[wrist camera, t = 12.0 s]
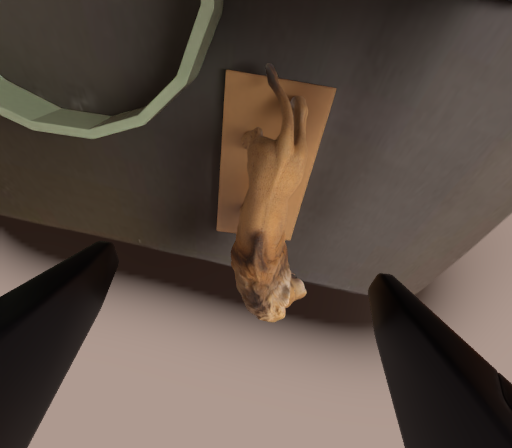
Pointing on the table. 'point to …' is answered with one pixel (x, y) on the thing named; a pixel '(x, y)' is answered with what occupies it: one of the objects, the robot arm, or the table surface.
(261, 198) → the lion figurine
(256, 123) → the cork mat
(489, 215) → the table surface
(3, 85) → the pale green faceted ring
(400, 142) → the table surface
